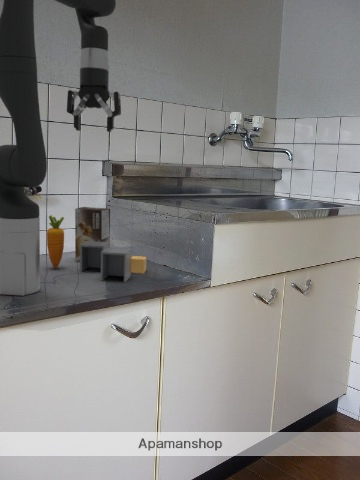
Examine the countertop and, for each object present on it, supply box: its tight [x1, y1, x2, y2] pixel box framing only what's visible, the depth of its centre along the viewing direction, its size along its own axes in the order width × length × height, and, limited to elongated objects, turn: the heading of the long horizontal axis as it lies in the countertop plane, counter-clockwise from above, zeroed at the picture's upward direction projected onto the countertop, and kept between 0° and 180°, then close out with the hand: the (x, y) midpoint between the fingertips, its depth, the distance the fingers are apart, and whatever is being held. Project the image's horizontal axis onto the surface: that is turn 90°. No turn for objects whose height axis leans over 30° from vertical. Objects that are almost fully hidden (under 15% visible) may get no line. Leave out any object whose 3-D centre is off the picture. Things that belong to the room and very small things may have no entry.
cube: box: [131, 255, 147, 274], centre depth 138 cm, size 4×4×4 cm
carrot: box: [46, 214, 65, 269], centre depth 137 cm, size 5×5×15 cm
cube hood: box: [100, 247, 132, 283], centre depth 129 cm, size 6×6×8 cm
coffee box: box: [74, 206, 111, 262], centre depth 149 cm, size 9×6×16 cm
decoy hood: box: [79, 241, 109, 273], centre depth 138 cm, size 6×6×8 cm
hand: (93, 131), depth 133 cm, fingers open, 8 cm apart
